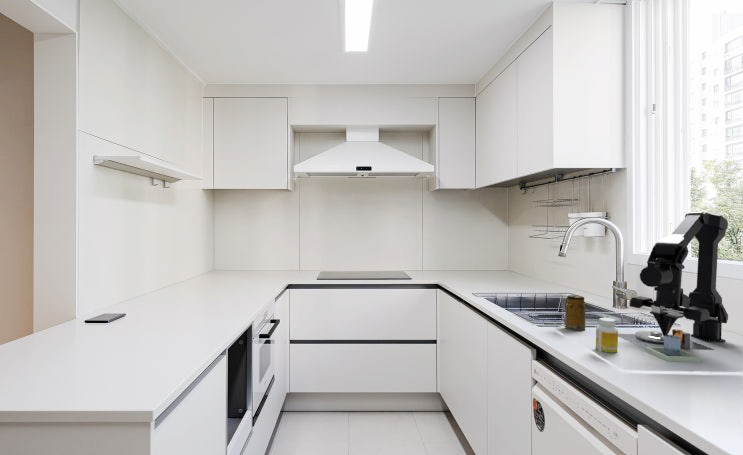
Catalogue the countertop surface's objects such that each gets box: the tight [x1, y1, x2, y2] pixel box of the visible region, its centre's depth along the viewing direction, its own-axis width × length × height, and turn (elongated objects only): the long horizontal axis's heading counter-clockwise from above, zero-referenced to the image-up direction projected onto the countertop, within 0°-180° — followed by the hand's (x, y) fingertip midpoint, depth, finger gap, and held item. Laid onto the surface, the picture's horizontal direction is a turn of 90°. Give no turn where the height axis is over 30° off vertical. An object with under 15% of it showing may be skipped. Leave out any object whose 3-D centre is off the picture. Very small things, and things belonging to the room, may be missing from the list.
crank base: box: [618, 331, 715, 351], centre depth 126 cm, size 20×16×5 cm
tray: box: [644, 347, 703, 363], centre depth 112 cm, size 9×9×2 cm
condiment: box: [564, 294, 586, 332], centre depth 139 cm, size 7×8×12 cm
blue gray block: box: [663, 334, 681, 356], centre depth 112 cm, size 4×4×6 cm
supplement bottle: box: [595, 317, 619, 354], centre depth 116 cm, size 5×5×10 cm
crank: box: [634, 328, 684, 345], centre depth 126 cm, size 15×11×5 cm
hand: (665, 336), depth 121 cm, fingers closed
